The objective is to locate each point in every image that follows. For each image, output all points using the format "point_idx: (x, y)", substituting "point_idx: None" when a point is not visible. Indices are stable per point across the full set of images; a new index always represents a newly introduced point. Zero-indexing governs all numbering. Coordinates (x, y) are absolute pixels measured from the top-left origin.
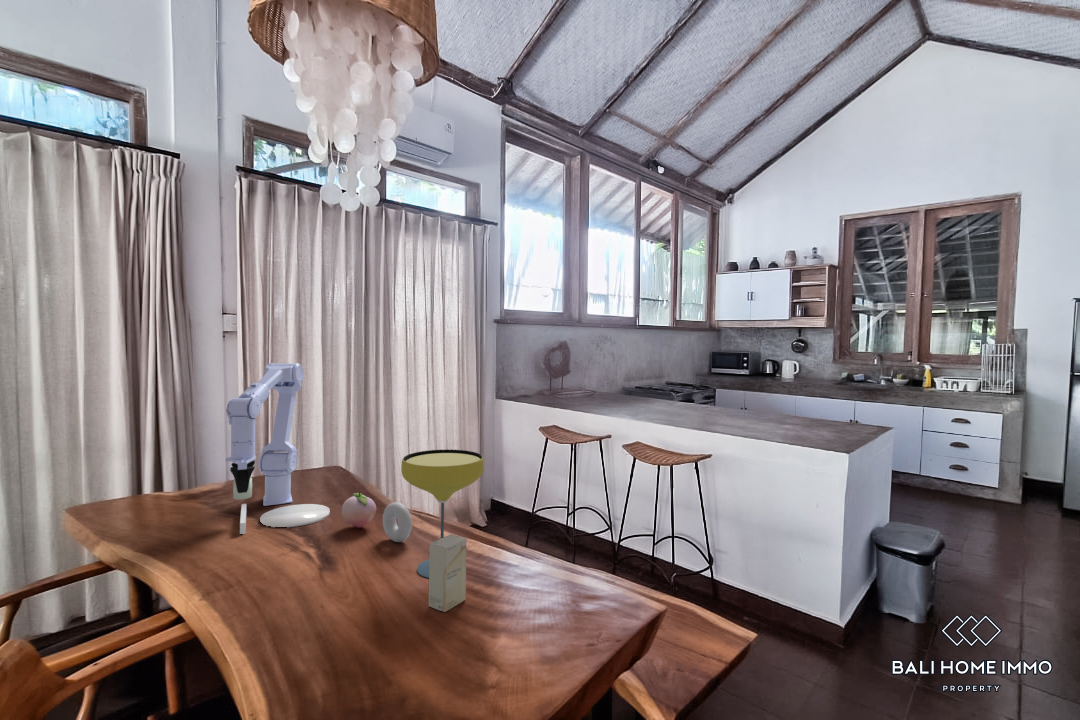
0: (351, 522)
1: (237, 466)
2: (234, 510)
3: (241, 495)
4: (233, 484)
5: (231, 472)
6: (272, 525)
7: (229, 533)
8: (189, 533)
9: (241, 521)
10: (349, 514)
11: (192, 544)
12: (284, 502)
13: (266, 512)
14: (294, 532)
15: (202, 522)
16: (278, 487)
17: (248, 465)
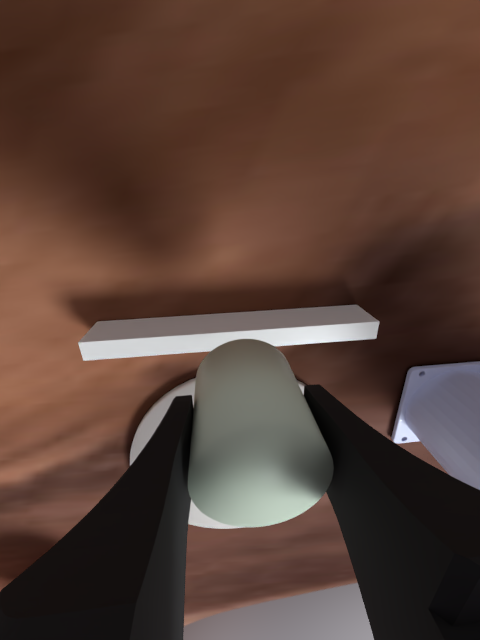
0: None
1: (417, 567)
2: (429, 274)
3: (194, 395)
4: (246, 397)
5: (10, 583)
6: (150, 411)
7: (130, 284)
8: (189, 115)
9: (107, 345)
10: None
11: (20, 150)
12: (397, 424)
13: (300, 387)
14: (77, 460)
15: (334, 158)
16: (448, 456)
17: (390, 635)
